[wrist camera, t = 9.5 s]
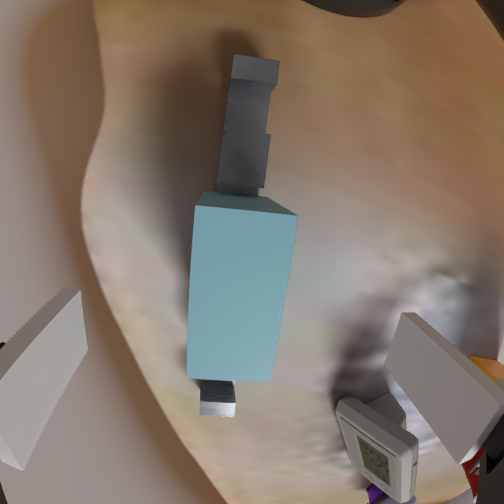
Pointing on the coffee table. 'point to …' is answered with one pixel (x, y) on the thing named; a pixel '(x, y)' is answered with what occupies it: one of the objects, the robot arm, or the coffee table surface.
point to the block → (237, 285)
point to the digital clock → (380, 444)
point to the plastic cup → (471, 476)
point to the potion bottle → (384, 497)
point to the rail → (241, 171)
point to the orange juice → (490, 369)
